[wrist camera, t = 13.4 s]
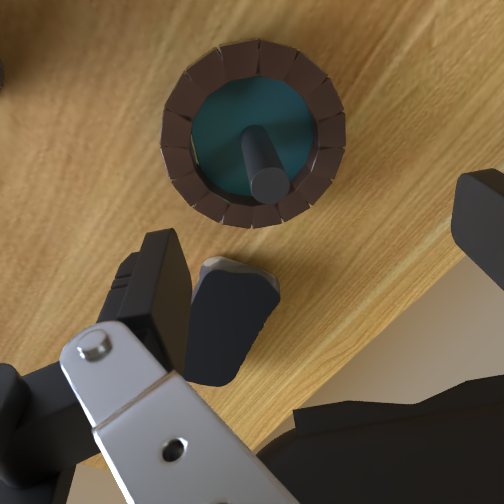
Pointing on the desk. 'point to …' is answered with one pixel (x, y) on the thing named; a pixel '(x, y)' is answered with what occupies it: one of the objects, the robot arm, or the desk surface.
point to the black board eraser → (226, 318)
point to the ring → (238, 67)
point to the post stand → (253, 137)
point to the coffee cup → (1, 74)
